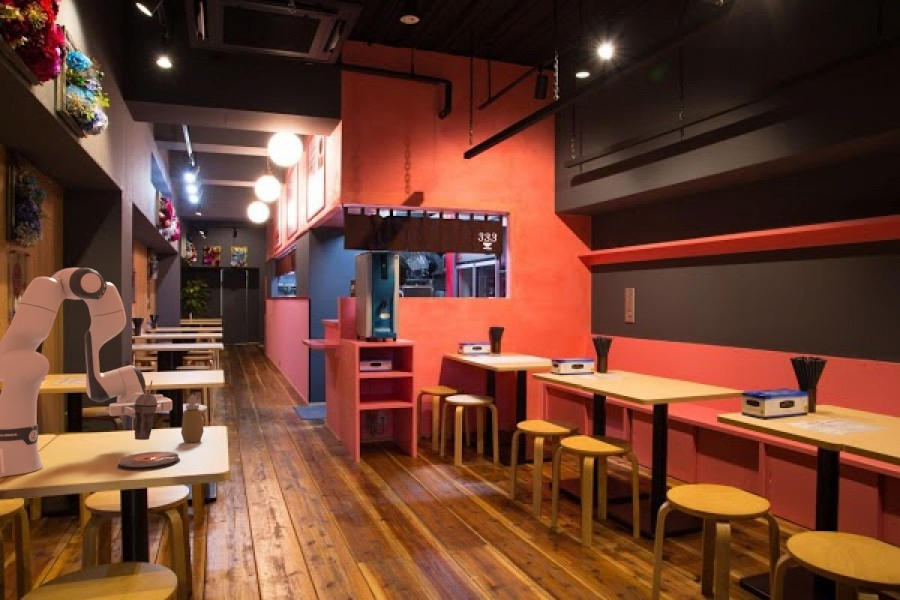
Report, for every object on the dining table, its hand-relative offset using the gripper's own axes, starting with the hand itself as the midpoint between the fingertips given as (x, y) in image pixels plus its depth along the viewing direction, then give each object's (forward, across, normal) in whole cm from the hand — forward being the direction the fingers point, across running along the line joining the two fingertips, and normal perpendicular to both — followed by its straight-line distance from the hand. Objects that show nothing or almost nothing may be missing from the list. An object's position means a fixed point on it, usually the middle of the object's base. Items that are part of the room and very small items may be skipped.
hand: (145, 410), depth 217 cm
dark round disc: (+7, 0, +17) cm, 18 cm away
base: (+7, 0, +17) cm, 18 cm away
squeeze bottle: (-18, +21, +17) cm, 32 cm away
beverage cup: (-1, -1, +10) cm, 10 cm away
